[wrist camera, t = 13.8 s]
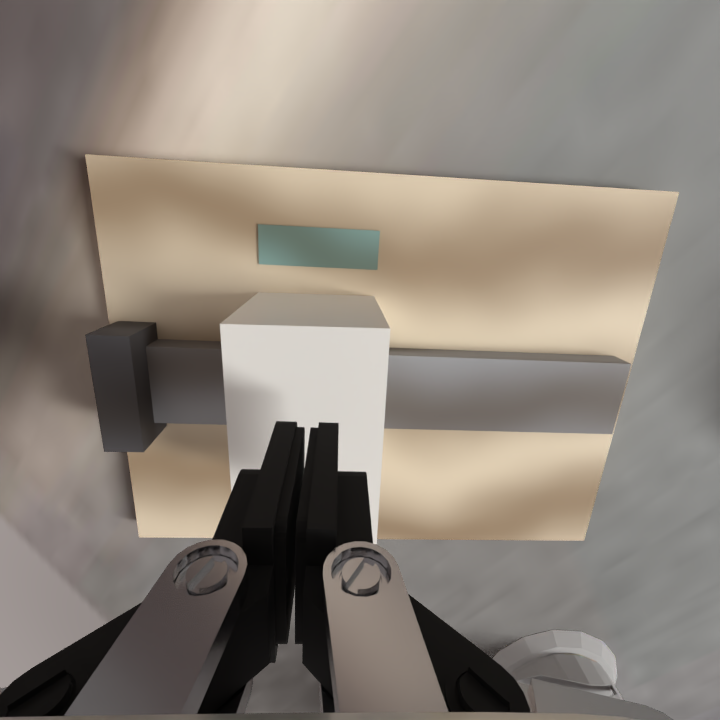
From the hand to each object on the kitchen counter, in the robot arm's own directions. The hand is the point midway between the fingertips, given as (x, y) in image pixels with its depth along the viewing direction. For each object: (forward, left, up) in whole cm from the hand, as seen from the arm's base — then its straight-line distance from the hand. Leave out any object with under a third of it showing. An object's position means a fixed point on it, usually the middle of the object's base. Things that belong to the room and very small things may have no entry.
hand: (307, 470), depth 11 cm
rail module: (+1, 0, -8) cm, 8 cm away
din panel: (+1, +3, -9) cm, 10 cm away
